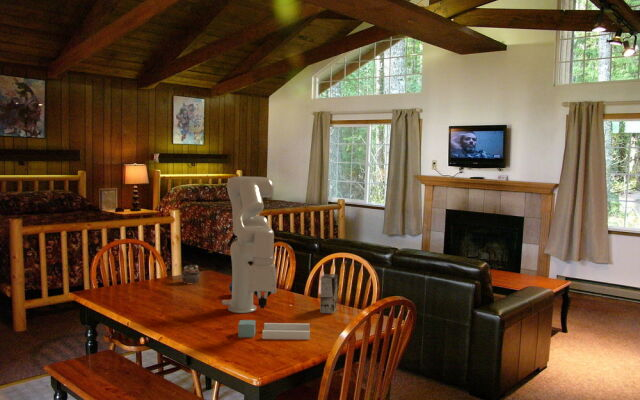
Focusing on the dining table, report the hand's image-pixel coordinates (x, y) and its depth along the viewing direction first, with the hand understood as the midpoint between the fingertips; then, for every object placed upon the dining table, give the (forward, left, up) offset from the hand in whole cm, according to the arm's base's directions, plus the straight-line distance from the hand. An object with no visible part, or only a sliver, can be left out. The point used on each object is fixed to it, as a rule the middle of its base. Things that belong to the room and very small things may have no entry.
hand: (262, 307), depth 210 cm
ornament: (-16, +59, -11) cm, 62 cm away
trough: (+10, -1, -11) cm, 14 cm away
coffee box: (+28, +34, -11) cm, 45 cm away
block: (-6, -1, -11) cm, 12 cm away
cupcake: (-45, +86, -11) cm, 98 cm away
